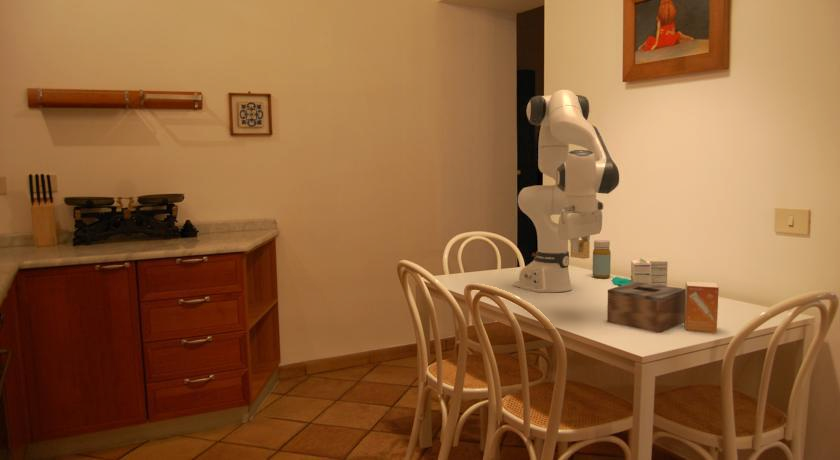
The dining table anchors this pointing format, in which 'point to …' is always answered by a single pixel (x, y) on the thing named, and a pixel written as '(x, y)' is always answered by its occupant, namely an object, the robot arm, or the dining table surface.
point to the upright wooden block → (582, 250)
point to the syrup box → (641, 271)
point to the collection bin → (646, 306)
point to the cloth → (620, 281)
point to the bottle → (601, 259)
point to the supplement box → (658, 271)
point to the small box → (701, 306)
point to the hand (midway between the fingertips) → (579, 251)
